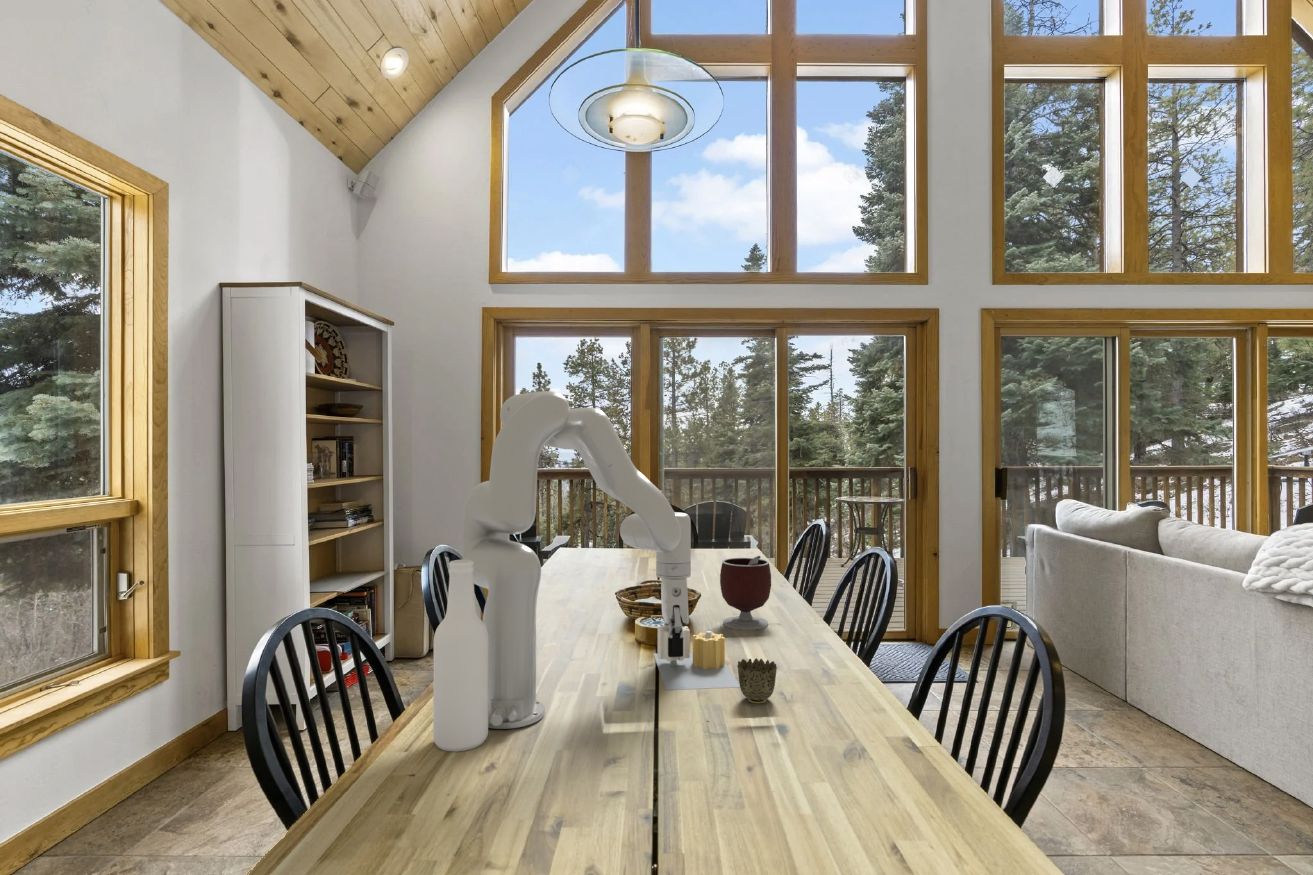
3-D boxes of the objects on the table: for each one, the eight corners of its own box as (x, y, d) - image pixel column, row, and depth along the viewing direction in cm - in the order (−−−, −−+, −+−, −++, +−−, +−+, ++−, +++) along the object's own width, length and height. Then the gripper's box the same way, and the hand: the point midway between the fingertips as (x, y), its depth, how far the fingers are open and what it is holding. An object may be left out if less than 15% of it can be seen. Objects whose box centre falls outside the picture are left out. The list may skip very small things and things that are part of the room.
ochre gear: (727, 668, 151) (727, 640, 151) (695, 669, 151) (695, 641, 151) (720, 658, 158) (720, 631, 158) (690, 659, 157) (690, 632, 157)
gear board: (740, 693, 140) (740, 651, 140) (665, 696, 138) (665, 654, 138) (717, 656, 164) (717, 621, 164) (653, 658, 162) (653, 622, 162)
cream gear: (691, 660, 150) (691, 632, 150) (659, 661, 150) (659, 633, 150) (686, 651, 157) (686, 624, 157) (656, 652, 156) (656, 625, 157)
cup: (776, 715, 129) (776, 671, 129) (735, 711, 130) (735, 668, 130) (777, 700, 136) (777, 658, 136) (739, 697, 137) (739, 656, 137)
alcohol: (431, 734, 120) (432, 558, 120) (484, 727, 123) (485, 555, 123) (434, 756, 112) (435, 567, 112) (491, 747, 115) (491, 563, 115)
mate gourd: (712, 619, 197) (712, 548, 197) (757, 616, 201) (757, 546, 202) (734, 634, 182) (734, 557, 183) (783, 630, 187) (783, 554, 187)
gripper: (696, 576, 145) (696, 663, 145) (684, 562, 163) (684, 639, 162) (660, 577, 145) (660, 664, 144) (652, 562, 162) (652, 640, 162)
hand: (673, 650), depth 153 cm, fingers closed on cream gear, 6 cm apart
